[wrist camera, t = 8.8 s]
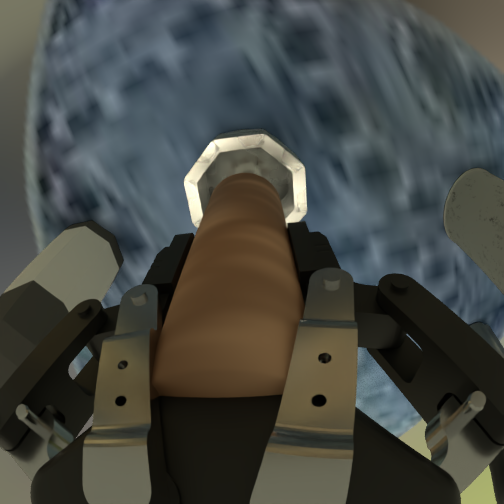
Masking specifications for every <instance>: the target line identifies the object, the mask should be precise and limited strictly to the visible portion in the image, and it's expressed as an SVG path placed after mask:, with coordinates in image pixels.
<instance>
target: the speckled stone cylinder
mask: <svg viewBox="0 0 504 504" xmlns="http://www.w3.org/2000/svg"><path fill="white" fill-rule="evenodd" d="M443 220H444V227H445V230H446V233H447V235H448V237H449V238H450V239H451V240H452V241H453V242H454V243H456V244H457V245H458V246H459V247H460V248H461V249H462V250H463V251H464V252H465V253H466V254H467V255H468V256H469V257H470V258H471V259H472V260H473V261H474V262H475V263H476V264H477V265H478V266H479V267H480V268H481V269H482V271H483V272H484V273H485V274H486V275H487V276H488V277H489V278H490V279H491V281H492V282H493V283H494V284H495V285H496V286H497V287H498V289H499V290H500V291H501V292H502V293H503V295H504V181H503V180H502V179H500V178H498V177H496V176H494V175H492V174H491V173H489V172H488V171H486V170H484V169H481V168H473V169H470V170H468V171H466V172H465V173H463V174H462V175H461V176H460V177H459V178H458V179H457V180H456V181H455V183H454V184H453V186H452V188H451V189H450V191H449V194H448V196H447V199H446V202H445V206H444V215H443Z"/></svg>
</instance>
